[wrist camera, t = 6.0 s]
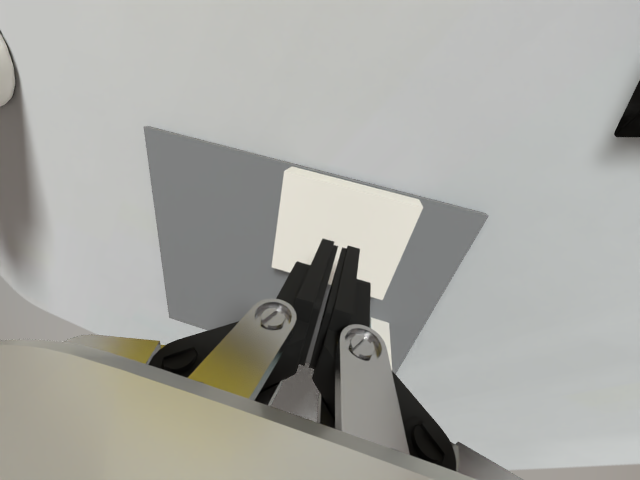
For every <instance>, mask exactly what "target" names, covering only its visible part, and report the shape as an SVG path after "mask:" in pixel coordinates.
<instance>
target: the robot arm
mask: <svg viewBox="0 0 640 480" xmlns="http://www.w3.org/2000/svg"><path fill="white" fill-rule="evenodd" d="M337 249H338V246H336V245H334V241H330V240H327V239H323V238H322V240H321V243H320V245H319V247H318V250H317V252H316V254H315V256H314V259H313V261H312V263H311V265H308V264H305V263H301V262H298V261H297V262H296V263H295V265H294V267H293V269H292V270H291V272H290V274H289V276H288V278H287V279H286V281H285V283H284V285H283V287H282V289H281V290H280V292H279V294H278V296H277V298H276V299H265V300H262V301H260V302H258V303H257V304H255V305H254V306H253V307H252V308H251V309H250V310H249V311H248V312H247V314H246V315H245V316H244V317H243V318H242V319H241V320H240V321H238V322H235V323H231V324H228V325H225V326H221V327H218V328H215V329H212V330H208V331H205V332H202V333H198V334H195V335H192V336H189V337H185V338H182V339H179V340H176V341H173V342H171V343H169V344H167V345H160V341H155V340H144V339H134V338H124V337H113V336H103V335H81V336H77V337H73V338H70V339H68V340H66V341H64V342H61V341H51V340H36V339H21V340H20V339H18V340H0V480H523V479H521V478H520V477H518V476H516V475H515V474H513V473H511V472H510V471H508V470H506V469H504V468H503V467H501V466H499V465H498V464H496V463H494V462H492V461H491V460H489V459H487V458H486V457H484V456H482V455H480V454H479V453H477V452H475V451H473V450H472V449H470V448H468V447H467V446H465V445H463V444H461V443H460V442H457V443H456V444H453V443H452V442H450V441H449V439H448V437H447V436H446V434H445V433H444V432H443V430H442V429H441V428H440V426H439V425H438V424H437V423H436V422H435V421H434V419H433V418H432V417H431V416H430V415H429V413H428V412H427V411H426V410H425V409H424V408H423V406H422V405H421V404H420V403H419V402H418V401H417V399H416V398H415V397H414V396H413V395H412V393H411V392H410V391H409V390H408V389H407V388H406V386H405V385H404V384H403V383H402V382H401V381H400V379H399V378H398V377H397V376H396V375H395V374H394V372H393V371H392V370H391V365H390V361H389V356H388V351H387V347H386V345H385V342H384V340H383V339H382V338H381V336H380V335H379V334H378V333H377V332H376V331H374V330H373V329H371V328H370V294H371V283H370V282H366V281H363V280H359V279H357V271H358V262H359V254H360V249H359V248H355V247H352V246H347V248H343V247H342V249H341V253H340V256H339V260H338V263H337V267H336V270H335V274H334V277H333V280H332V284H331V287H330V291H329V294H328V298H327V301H326V305H325V309H324V313H323V316H322V320H321V324H320V328H319V331H318V335H317V339H316V343H315V346H314V350H313V354H312V358H311V361H310V365H309V367H310V368H313V369H314V373H313V377H312V379H313V381H314V383H315V385H316V386H317V388H318V390H319V392H320V393H319V397H318V411H317V422H314V421H311V420H308V419H305V418H302V417H299V416H297V415H294V414H291V413H288V412H285V411H282V410H279V409H276V408H273V407H271V404H272V402H273V400H274V399H275V397H276V395H277V393H278V391H279V389H280V387H281V385H282V382H283V380H284V379H286V378H288V377H290V376H292V375H294V374H295V373H296V371H297V368H298V365H299V364H301V365H305V362H306V358H307V355H308V351H309V348H310V344H311V341H312V337H313V334H314V330H315V327H316V323H317V320H318V316H319V313H320V309H321V306H322V302H323V299H324V295H325V292H326V288H327V285H328V281H329V278H330V274H331V270H332V267H333V263H334V260H335V256H336V253H337Z"/></svg>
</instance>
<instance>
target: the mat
mask: <svg viewBox="0 0 640 480" xmlns="http://www.w3.org/2000/svg"><path fill="white" fill-rule="evenodd" d="M144 133H145V140H146V148H147V155H148V162H149V170H150V177H151V185H152V192H153V200H154V207H155V215H156V222H157V230H158V237H159V245H160V252H161V260H162V267H163V275H164V282H165V289H166V297H167V304H168V312H169V318H172V319H175V320H178V321H181V322H184V323H187V324H190V325H193V326H196V327H199V328H202V329H205V330H212V329H215V328H218V327H221V326H225V325H228V324H231V323H235V322H238V321H240V320H241V319H242V318H243V317H244V316H245V315H246V314H247V312H248V311H249V310H250V309H251V308H252V307H253V306H254V305H255V304H257V303H258V302H260V301H262V300H265V299H276V298H277V296H278V294H279V292H280V290H281V289H282V287H283V285H284V283H285V281H286V279H287V278H288V276H289V274H290V273H289V272H286V271H283V270H279V269H276V268H272V259H273V252H274V244H275V237H276V229H277V222H278V214H279V206H280V199H281V191H282V184H283V176H284V171H285V170H287V169H288V168H290V167H296V168H300V169H304V170H308V171H312V172H316V173H319V174H323V175H327V176H331V177H335V178H339V179H343V180H346V181H350V182H354V183H358V184H362V185H366V186H370V187H373V188H377V189H381V190H385V191H389V192H393V193H397V194H400V195H404V196H408V197H412V198H416V199H419V200H420V202H421V204H422V206H423V209H422V211H421V214H420V216H419V218H418V220H417V223H416V225H415V227H414V230H413V232H412V234H411V236H410V239H409V241H408V243H407V246H406V248H405V250H404V252H403V255H402V257H401V259H400V262H399V264H398V266H397V268H396V271H395V273H394V275H393V277H392V280H391V282H390V284H389V287H388V289H387V291H386V293H385V296H384V298H383V300H380V299H377V298H373V297H370V319H371V318H375V319H378V320H381V321H384V322H388V323H389V329H390V344H391V359H392V371H393V372H394V374H396V372H397V371H398V369H399V367H400V366H401V364H402V362H403V361H404V359H405V357H406V355H407V354H408V352H409V350H410V349H411V347H412V345H413V344H414V342H415V340H416V338H417V337H418V335H419V333H420V332H421V330H422V328H423V327H424V325H425V323H426V321H427V320H428V318H429V316H430V315H431V313H432V311H433V310H434V308H435V306H436V304H437V303H438V301H439V299H440V298H441V296H442V294H443V293H444V291H445V289H446V287H447V286H448V284H449V282H450V281H451V279H452V277H453V276H454V274H455V272H456V270H457V269H458V267H459V265H460V264H461V262H462V260H463V259H464V257H465V255H466V253H467V252H468V250H469V248H470V247H471V245H472V243H473V242H474V240H475V238H476V236H477V235H478V233H479V231H480V230H481V228H482V226H483V225H484V223H485V221H486V219H487V218H488V215H487V214H486V213H483V212H479V211H475V210H471V209H467V208H463V207H459V206H456V205H452V204H448V203H444V202H440V201H436V200H432V199H428V198H425V197H421V196H417V195H413V194H409V193H405V192H401V191H397V190H394V189H390V188H386V187H382V186H378V185H374V184H370V183H366V182H363V181H359V180H355V179H351V178H347V177H343V176H339V175H335V174H332V173H328V172H324V171H320V170H316V169H312V168H308V167H304V166H301V165H297V164H293V163H289V162H285V161H281V160H277V159H273V158H270V157H266V156H262V155H258V154H254V153H250V152H246V151H242V150H239V149H235V148H231V147H227V146H223V145H219V144H215V143H212V142H208V141H204V140H200V139H196V138H192V137H188V136H184V135H181V134H177V133H173V132H169V131H165V130H161V129H157V128H153V127H150V126H147V127H144ZM330 287H331V285H330V284H328V285H327V288H326V292H325V295H324V299H323V302H322V306H321V309H320V313H319V316H318V320H317V323H316V327H315V330H314V334H313V337H312V341H311V344H310V348H309V351H308V355H307V358H306V363H309V364H310V361H311V358H312V354H313V350H314V346H315V343H316V339H317V335H318V331H319V328H320V324H321V320H322V316H323V313H324V309H325V305H326V301H327V298H328V294H329V291H330Z"/></svg>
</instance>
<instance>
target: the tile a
mask: <svg viewBox="0 0 640 480" xmlns="http://www.w3.org/2000/svg"><path fill="white" fill-rule="evenodd" d="M422 209H423V206H422V204H421V202H420V200H419V199H416V198H412V197H408V196H404V195H400V194H397V193H393V192H389V191H385V190H381V189H377V188H373V187H370V186H366V185H362V184H358V183H354V182H350V181H346V180H343V179H339V178H335V177H331V176H327V175H323V174H319V173H316V172H312V171H308V170H304V169H300V168H296V167H290V168H288V169H287V170H285V171H284V176H283V184H282V191H281V199H280V206H279V214H278V222H277V229H276V237H275V244H274V252H273V259H272V268H276V269H279V270H283V271H286V272H289V273H290V272H291V270H292V269H293V267H294V265H295V263H296V262H297V261H298V262H301V263H305V264H308V265H311V263H312V261H313V259H314V256H315V254H316V252H317V250H318V247H319V245H320V243H321V240H322V238H323V239H327V240H330V241H334V245H336V246H338V249H337V253H336V256H335V260H334V263H333V267H332V270H331V274H330V278H329V281H328V284H330V285H331V284H332V280H333V277H334V274H335V270H336V267H337V263H338V260H339V256H340V253H341V249H342V247H343V248H347V246H352V247H355V248H359V249H360V254H359V262H358V271H357V279H359V280H363V281H366V282H370V283H371V294H370V297H373V298H377V299H380V300H383V298H384V296H385V293H386V291H387V289H388V287H389V284H390V282H391V280H392V277H393V275H394V273H395V271H396V268H397V266H398V264H399V262H400V259H401V257H402V255H403V252H404V250H405V248H406V246H407V243H408V241H409V239H410V236H411V234H412V232H413V230H414V227H415V225H416V223H417V220H418V218H419V216H420V214H421V211H422Z"/></svg>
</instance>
